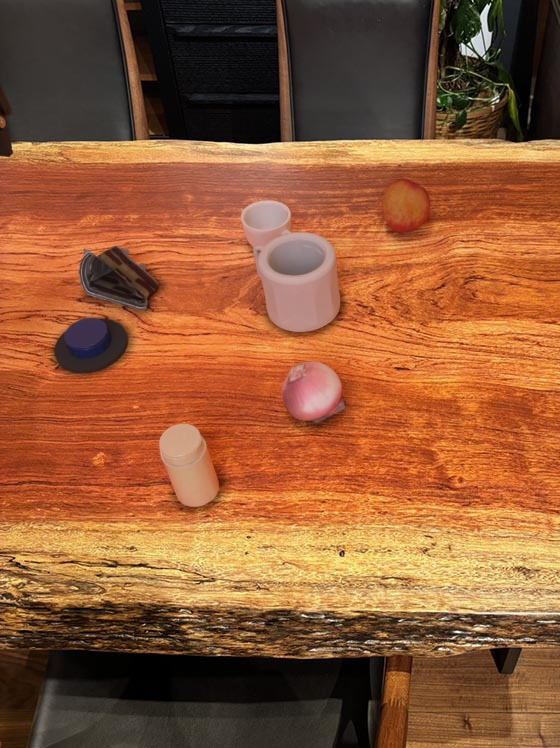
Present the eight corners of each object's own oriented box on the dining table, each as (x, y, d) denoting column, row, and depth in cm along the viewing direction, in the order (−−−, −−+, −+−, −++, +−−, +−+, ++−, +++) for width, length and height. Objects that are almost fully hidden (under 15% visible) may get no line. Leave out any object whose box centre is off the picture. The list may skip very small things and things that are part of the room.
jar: (175, 510, 95) (155, 461, 87) (176, 474, 98) (156, 424, 91) (219, 503, 95) (203, 454, 88) (218, 467, 99) (202, 418, 91)
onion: (301, 379, 108) (295, 342, 102) (355, 393, 106) (351, 356, 100) (275, 423, 103) (267, 386, 97) (330, 439, 101) (326, 403, 95)
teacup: (235, 245, 127) (229, 217, 123) (270, 221, 131) (265, 193, 127) (280, 271, 122) (275, 243, 118) (315, 245, 126) (311, 217, 122)
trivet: (50, 377, 110) (48, 373, 109) (62, 325, 116) (60, 321, 116) (123, 370, 110) (122, 366, 109) (131, 319, 117) (130, 315, 116)
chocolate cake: (179, 285, 122) (128, 219, 119) (151, 304, 116) (97, 236, 114) (144, 312, 127) (95, 250, 125) (116, 331, 122) (64, 267, 119)
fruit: (441, 224, 129) (442, 182, 123) (407, 248, 125) (407, 206, 119) (404, 204, 132) (404, 162, 126) (371, 227, 129) (368, 186, 123)
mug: (355, 299, 118) (351, 246, 110) (311, 344, 112) (303, 291, 104) (283, 267, 123) (274, 214, 115) (237, 309, 117) (225, 256, 110)
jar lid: (115, 327, 114) (111, 317, 113) (105, 358, 111) (101, 347, 109) (75, 328, 115) (70, 317, 113) (63, 358, 111) (58, 348, 109)
